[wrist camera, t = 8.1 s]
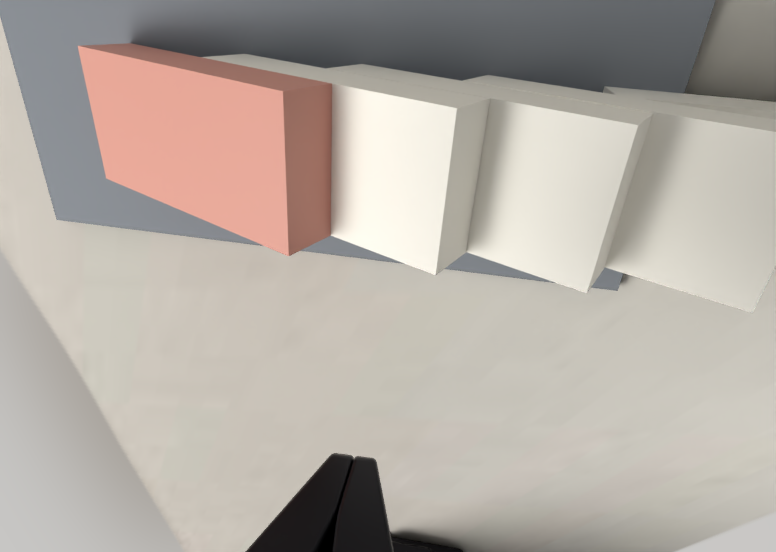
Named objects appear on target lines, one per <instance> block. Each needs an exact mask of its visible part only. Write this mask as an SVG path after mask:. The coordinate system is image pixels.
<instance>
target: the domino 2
mask: <svg viewBox="0 0 776 552" xmlns="http://www.w3.org/2000/svg"><path fill="white" fill-rule="evenodd" d="M202 58H207V59H212V60H217V61H222V62H227V63H232V64H237V65H242V66H247V67H252V68H257V69H262V70H267V71H272V72H277V73H282V74H287V75H292V76H297V77H302V78H307V79H312V80H317V81H322V82H327V83H332V150H331V236H333V237H336V238H339V239H341V240H344V241H347V242H349V243H352V244H354V245H357V246H360V247H362V248H365V249H368V250H370V251H373V252H376V253H378V254H381V255H383V256H386V257H389V258H391V259H394V260H397V261H399V262H402V263H405V264H407V265H410V266H412V267H415V268H418V269H420V270H423V271H426V272H428V273H431V274H434V275H437V274H438V273H439V272H441V271H442V270H443V269H445V268H446V267H447V266H449V265H450V264H451V263H453V262H454V261H455V260H457V259H458V258H459V257H461V256H462V255H463V254H465V253H466V249H467V242H468V236H469V230H470V223H471V217H472V211H473V204H474V198H475V192H476V185H477V179H478V173H479V166H480V160H481V154H482V147H483V141H484V135H485V128H486V122H487V116H488V109H489V103H490V98H485V97H479V96H474V95H468V94H463V93H457V92H452V91H446V90H441V89H435V88H430V87H424V86H419V85H413V84H408V83H403V82H397V81H392V80H386V79H381V78H375V77H370V76H364V75H359V74H353V73H348V72H342V71H337V70H331V69H326V68H320V67H315V66H310V65H304V64H299V63H293V62H288V61H282V60H277V59H271V58H266V57H260V56H255V55H249V54H235V55H222V56H210V57H202Z"/></svg>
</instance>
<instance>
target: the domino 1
mask: <svg viewBox="0 0 776 552" xmlns="http://www.w3.org/2000/svg"><path fill="white" fill-rule="evenodd" d="M78 50H79V55H80V59H81V64H82V69H83V73H84V78H85V82H86V87H87V92H88V96H89V101H90V106H91V110H92V115H93V119H94V124H95V129H96V133H97V138H98V143H99V147H100V152H101V156H102V161H103V166H104V170H105V175H106V179H109V180H111V181H113V182H116V183H118V184H120V185H123V186H125V187H127V188H130V189H132V190H134V191H137V192H139V193H141V194H144V195H146V196H148V197H151V198H153V199H156V200H158V201H160V202H163V203H165V204H167V205H170V206H172V207H174V208H177V209H179V210H181V211H184V212H186V213H188V214H191V215H193V216H195V217H198V218H200V219H203V220H205V221H207V222H210V223H212V224H214V225H217V226H219V227H221V228H224V229H226V230H228V231H231V232H233V233H235V234H238V235H240V236H242V237H245V238H247V239H250V240H252V241H254V242H257V243H259V244H261V245H264V246H266V247H268V248H271V249H273V250H275V251H278V252H280V253H282V254H285V255H287V256H290V255H292V254H294V253H296V252H298V251H300V250H302V249H304V248H306V247H308V246H310V245H312V244H314V243H316V242H318V241H321V240H323V239H325V238H327V237H329V236H331V150H332V83H327V82H322V81H317V80H312V79H307V78H302V77H297V76H292V75H287V74H282V73H277V72H272V71H267V70H262V69H257V68H252V67H247V66H242V65H237V64H232V63H227V62H222V61H217V60H212V59H207V58H202V57H197V56H192V55H187V54H182V53H177V52H172V51H167V50H162V49H157V48H152V47H147V46H142V45H137V44H132V43H124V44H103V45H82V46H78Z"/></svg>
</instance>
